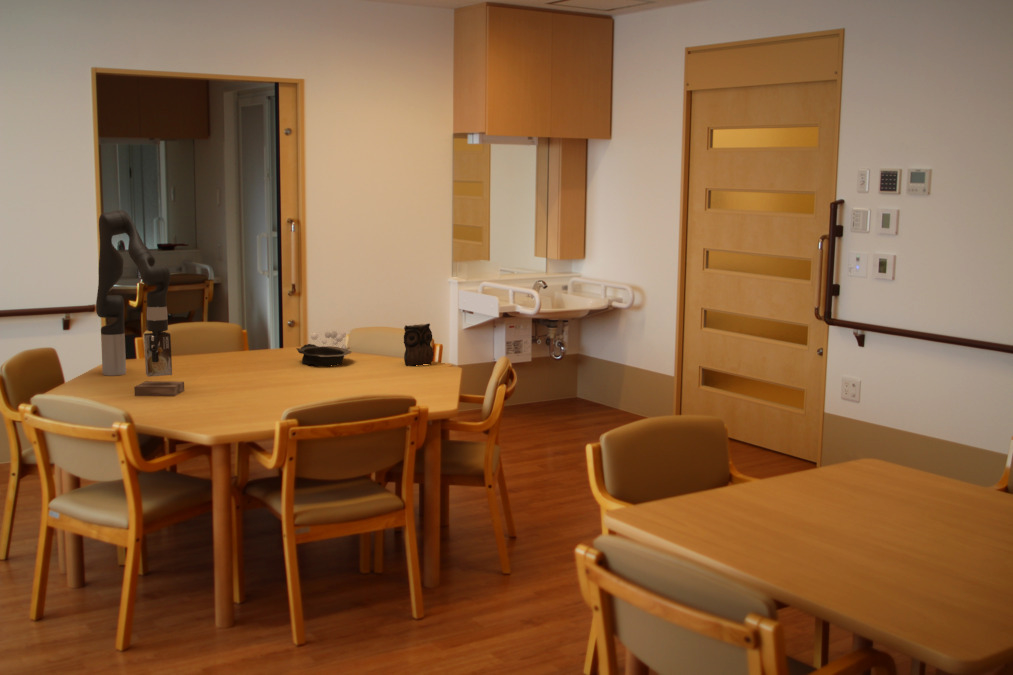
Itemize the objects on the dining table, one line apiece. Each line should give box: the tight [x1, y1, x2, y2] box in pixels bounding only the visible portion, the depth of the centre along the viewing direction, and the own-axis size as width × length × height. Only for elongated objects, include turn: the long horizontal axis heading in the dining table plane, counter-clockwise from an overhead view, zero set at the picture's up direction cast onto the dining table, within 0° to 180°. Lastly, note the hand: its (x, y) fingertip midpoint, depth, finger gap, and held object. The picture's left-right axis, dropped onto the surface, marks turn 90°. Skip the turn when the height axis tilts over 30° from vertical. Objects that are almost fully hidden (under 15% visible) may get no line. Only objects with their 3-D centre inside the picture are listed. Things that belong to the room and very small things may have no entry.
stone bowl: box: [296, 343, 352, 367], centre depth 448 cm, size 25×25×9 cm
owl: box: [403, 323, 435, 367], centre depth 448 cm, size 13×13×20 cm
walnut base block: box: [134, 380, 185, 397], centre depth 377 cm, size 12×15×4 cm
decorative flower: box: [308, 329, 348, 357], centre depth 476 cm, size 25×22×14 cm
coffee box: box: [143, 332, 173, 378], centre depth 375 cm, size 9×6×16 cm
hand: (158, 360), depth 376 cm, fingers closed on coffee box, 8 cm apart
